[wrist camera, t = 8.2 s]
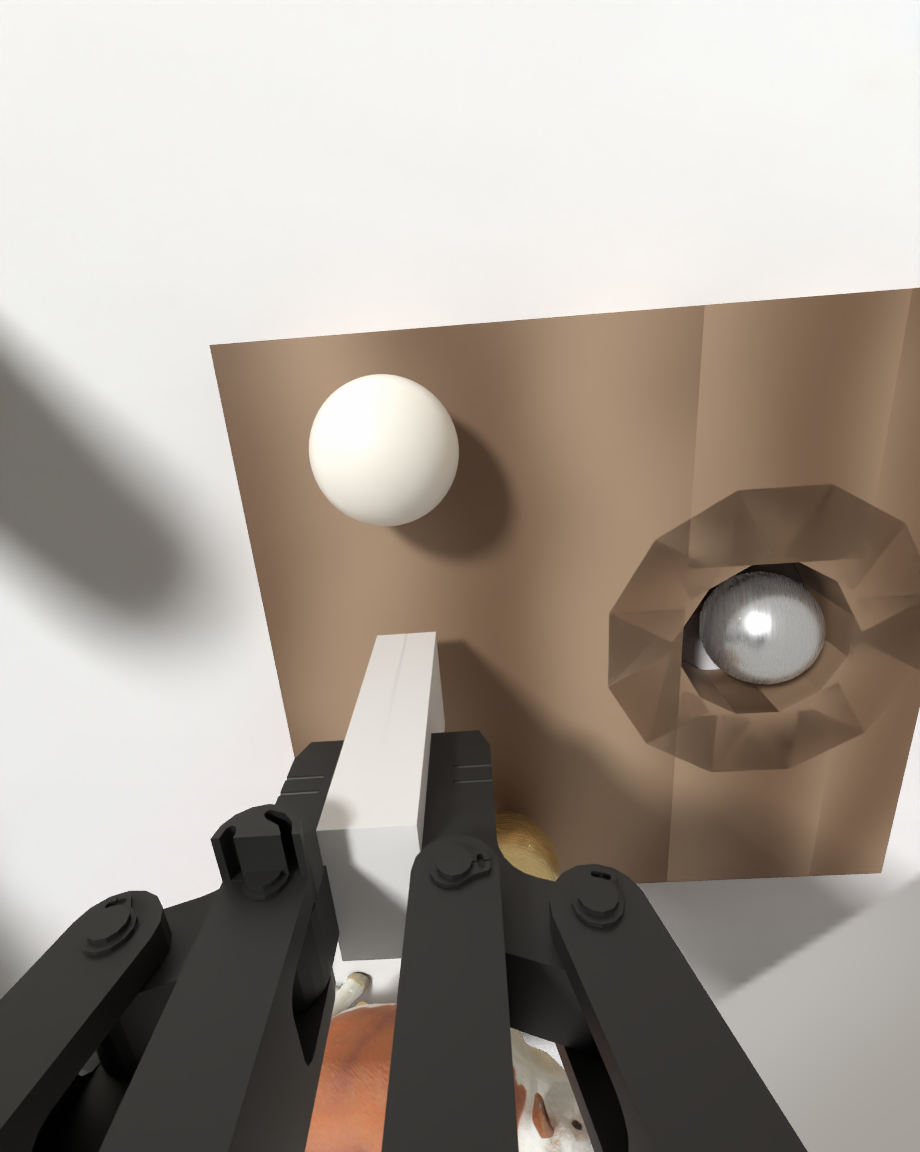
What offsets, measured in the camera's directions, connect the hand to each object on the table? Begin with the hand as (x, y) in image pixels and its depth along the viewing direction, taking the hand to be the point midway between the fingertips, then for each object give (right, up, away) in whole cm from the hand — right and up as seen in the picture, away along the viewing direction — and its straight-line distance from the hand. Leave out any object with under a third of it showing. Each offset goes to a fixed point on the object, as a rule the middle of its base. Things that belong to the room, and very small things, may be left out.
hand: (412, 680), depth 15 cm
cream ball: (0, +5, -3) cm, 6 cm away
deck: (+5, +1, +3) cm, 6 cm away
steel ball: (+10, +1, +2) cm, 10 cm away
